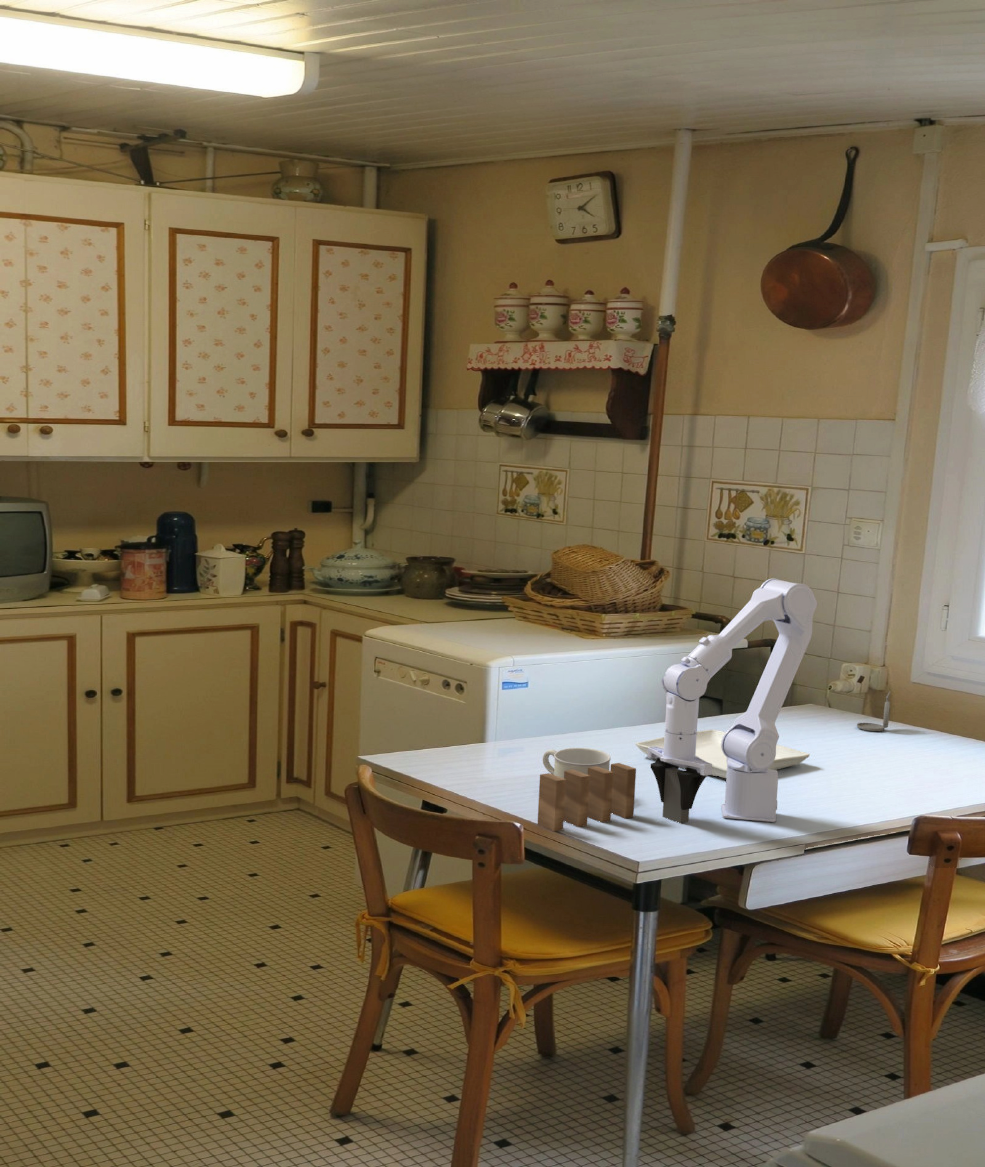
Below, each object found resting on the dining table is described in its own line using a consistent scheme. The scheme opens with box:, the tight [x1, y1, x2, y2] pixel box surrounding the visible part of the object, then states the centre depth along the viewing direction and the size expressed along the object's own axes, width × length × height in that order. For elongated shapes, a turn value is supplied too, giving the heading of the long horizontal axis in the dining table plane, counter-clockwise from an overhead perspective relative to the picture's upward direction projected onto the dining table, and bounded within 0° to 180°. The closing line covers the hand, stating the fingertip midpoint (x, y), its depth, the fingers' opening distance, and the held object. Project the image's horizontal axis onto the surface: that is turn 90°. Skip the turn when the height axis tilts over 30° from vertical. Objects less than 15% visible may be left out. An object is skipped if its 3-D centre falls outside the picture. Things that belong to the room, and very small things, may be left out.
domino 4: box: [609, 762, 637, 819], centre depth 231 cm, size 2×5×9 cm, turn 36°
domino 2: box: [563, 770, 590, 828], centre depth 224 cm, size 2×5×9 cm, turn 36°
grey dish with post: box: [856, 691, 891, 732], centre depth 314 cm, size 8×8×10 cm
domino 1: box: [536, 772, 566, 833], centre depth 221 cm, size 2×5×9 cm, turn 36°
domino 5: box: [662, 767, 690, 824], centre depth 229 cm, size 2×5×9 cm, turn 36°
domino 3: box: [588, 766, 613, 823], centre depth 227 cm, size 2×5×9 cm, turn 36°
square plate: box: [635, 729, 811, 779], centre depth 274 cm, size 27×27×4 cm
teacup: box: [542, 747, 611, 779], centre depth 244 cm, size 14×11×8 cm
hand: (676, 805), depth 229 cm, fingers closed on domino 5, 5 cm apart
